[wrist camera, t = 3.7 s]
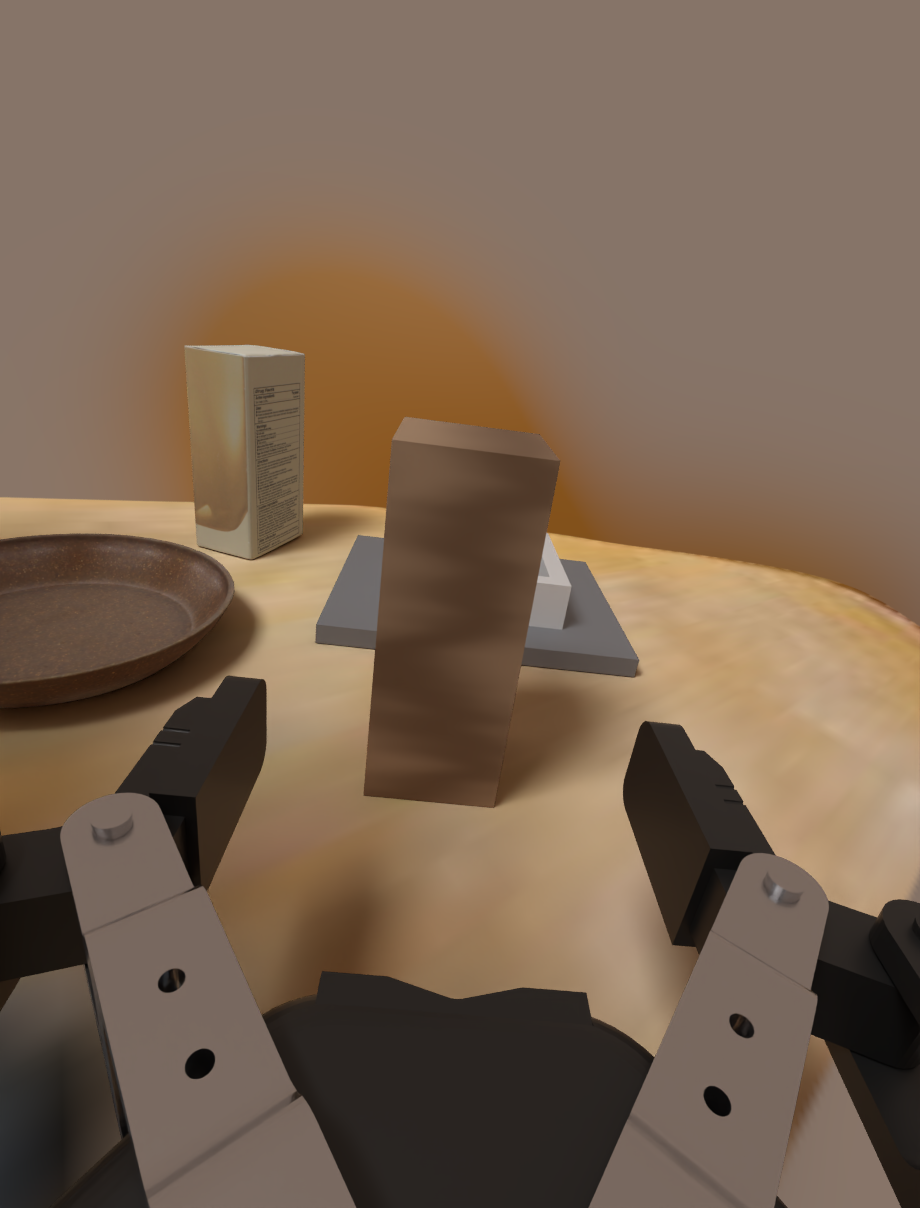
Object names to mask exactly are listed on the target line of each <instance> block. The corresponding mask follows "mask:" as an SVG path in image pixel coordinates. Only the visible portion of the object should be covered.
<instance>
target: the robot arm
mask: <svg viewBox="0 0 920 1208" xmlns="http://www.w3.org/2000/svg"><path fill="white" fill-rule="evenodd" d="M265 751H266V682H265V680H263V679H254V678H245V677H236V676H227V677H225V679H224V680H223V682H222V683H221V685H220V686H219V688H218V689H217V691H216V692H215V694H214V695H213V697H212V698H203V697H196V698H194V699H193V700H191V701H190V702H188V703H186V704H185V705H183V706H182V707H180V708H179V709H177V710H176V711H175V712H174V713H173V715H172V716H171V717H170V719H169V720H168V722H167V723H166V724H165V726H164V727H163V731H162V730H161V731H160V732H159V734H158V735H157V737H156V738H155V739H154V741H153V745H150V746H149V747H148V749H147V750H146V752H145V753H144V754H143V756H142V757H141V758H140V760H139V761H138V762H137V764H136V765H135V767H134V768H133V769H132V771H131V772H130V773H129V775H128V776H127V777H126V779H125V780H124V782H123V783H122V784H121V786H120V787H119V788H118V790H117V791H116V792H115V794H111V795H107V796H103V797H101V798H98V799H95V800H93V801H91V802H89V803H87V804H85V805H83V806H82V807H80V808H79V809H77V810H76V811H75V812H74V813H73V814H72V815H71V816H70V817H69V818H68V819H67V820H66V822H65V823H64V825H63V826H61V827H58V828H52V829H47V830H39V831H32V832H25V833H18V834H11V835H4V836H1V832H0V1011H1V1010H2V1008H3V1006H4V1005H5V1003H6V1001H7V1000H8V998H9V996H10V995H11V993H12V991H13V990H14V988H15V986H16V985H17V983H18V981H19V980H20V978H21V977H26V976H30V975H35V974H40V973H44V972H49V971H54V970H59V969H63V968H68V967H73V966H77V965H82V964H83V965H84V970H85V974H86V978H87V983H88V987H89V992H90V996H91V1001H92V1005H93V1010H94V1014H95V1019H96V1023H97V1027H98V1032H99V1036H100V1041H101V1045H102V1050H103V1054H104V1059H105V1063H106V1068H107V1073H108V1078H109V1082H110V1087H111V1092H112V1097H113V1102H114V1107H115V1112H116V1117H117V1121H118V1126H119V1130H120V1135H121V1139H122V1140H121V1141H120V1142H119V1143H118V1144H117V1145H116V1146H115V1147H113V1148H112V1149H111V1150H110V1151H109V1152H108V1153H107V1154H106V1155H105V1156H104V1157H103V1158H102V1159H101V1160H100V1161H98V1162H97V1163H96V1164H95V1165H94V1166H93V1167H92V1168H91V1169H90V1170H89V1171H88V1172H87V1173H86V1174H85V1175H83V1176H82V1177H81V1178H80V1179H79V1180H78V1181H77V1182H76V1183H75V1184H74V1185H73V1186H72V1187H71V1188H70V1189H68V1190H67V1191H66V1192H65V1193H64V1194H63V1195H62V1196H61V1197H60V1198H59V1199H58V1200H57V1201H56V1202H55V1203H53V1204H52V1205H51V1206H50V1207H49V1208H787V1207H786V1205H784V1203H783V1202H782V1201H781V1200H780V1199H779V1197H778V1196H777V1191H778V1187H779V1182H780V1177H781V1172H782V1168H783V1163H784V1158H785V1153H786V1149H787V1144H788V1139H789V1134H790V1130H791V1125H792V1120H793V1115H794V1111H795V1106H796V1101H797V1096H798V1092H799V1087H800V1082H801V1077H802V1073H803V1068H804V1063H805V1058H806V1054H807V1049H808V1044H809V1040H810V1035H814V1036H816V1037H819V1038H821V1039H824V1040H825V1042H826V1045H827V1047H828V1049H829V1051H830V1053H831V1056H832V1058H833V1060H834V1062H835V1064H836V1066H837V1069H838V1071H839V1073H840V1075H841V1077H842V1079H843V1082H844V1084H845V1086H846V1088H847V1090H848V1093H849V1095H850V1097H851V1099H852V1101H853V1103H854V1106H855V1108H856V1110H857V1112H858V1114H859V1116H860V1119H861V1121H862V1123H863V1125H864V1127H865V1129H866V1132H867V1134H868V1136H869V1138H870V1140H871V1143H872V1145H873V1147H874V1149H875V1151H876V1153H877V1156H878V1158H879V1160H880V1162H881V1164H882V1166H883V1168H884V1171H885V1173H886V1175H887V1177H888V1180H889V1182H890V1184H891V1186H892V1188H893V1190H894V1192H895V1195H896V1197H897V1199H898V1201H899V1203H900V1206H901V1208H920V903H917V902H914V901H909V900H900V899H899V900H892V901H889V902H888V903H886V904H885V906H884V907H883V909H882V911H881V912H880V914H879V916H878V918H877V917H874V916H871V915H868V914H865V913H862V912H859V911H856V910H853V909H851V908H848V907H845V906H842V905H839V904H836V903H833V902H831V901H828V899H827V896H826V894H825V892H824V891H823V889H822V887H821V886H820V885H819V884H818V882H817V881H816V880H815V879H814V878H813V877H812V876H811V875H810V874H808V873H807V872H806V871H805V870H803V869H802V868H800V867H799V866H797V865H796V864H794V863H792V862H790V861H788V860H786V859H784V858H781V857H778V856H776V855H775V854H774V852H773V850H772V849H771V847H770V845H769V844H768V842H767V840H766V839H765V837H764V835H763V834H762V832H761V830H760V829H759V827H758V825H757V824H756V822H755V820H754V819H753V817H752V815H751V814H750V812H749V810H748V809H747V807H746V805H743V800H742V799H741V797H740V795H739V794H738V792H737V790H734V785H733V784H732V782H731V780H730V779H729V777H728V775H727V774H726V772H725V770H724V769H723V767H722V766H720V765H719V764H718V763H717V762H716V761H715V760H714V759H713V758H711V757H710V756H709V755H708V754H707V753H706V752H705V751H700V750H695V748H694V746H693V745H692V743H691V741H690V739H689V737H688V736H687V734H686V732H685V730H684V729H683V727H682V726H681V725H676V724H667V723H657V722H648V721H645V722H643V723H642V725H641V726H640V729H639V732H638V735H637V738H636V742H635V745H634V748H633V752H632V755H631V758H630V762H629V765H628V768H627V772H626V775H625V779H624V785H623V800H624V806H625V810H626V813H627V815H628V818H629V821H630V824H631V827H632V830H633V833H634V836H635V839H636V841H637V844H638V847H639V850H640V853H641V856H642V859H643V862H644V864H645V867H646V870H647V873H648V876H649V879H650V882H651V885H652V888H653V890H654V893H655V896H656V899H657V902H658V905H659V908H660V911H661V914H662V916H663V919H664V922H665V925H666V928H667V931H668V934H669V937H670V940H671V942H672V945H679V946H690V947H696V948H697V951H698V954H699V958H698V960H697V962H696V965H695V967H694V969H693V971H692V974H691V976H690V978H689V981H688V983H687V985H686V987H685V990H684V992H683V994H682V997H681V999H680V1001H679V1003H678V1006H677V1008H676V1010H675V1013H674V1015H673V1017H672V1019H671V1022H670V1024H669V1026H668V1028H667V1031H666V1033H665V1035H664V1038H663V1040H662V1042H661V1044H660V1047H659V1049H658V1051H657V1054H656V1056H655V1058H654V1057H653V1056H652V1055H651V1054H650V1053H649V1052H648V1051H647V1050H646V1049H645V1048H644V1047H642V1046H641V1045H640V1044H638V1043H637V1042H636V1041H634V1040H633V1039H632V1038H630V1037H629V1036H628V1035H626V1034H624V1033H623V1032H621V1031H619V1030H618V1029H616V1028H615V1027H613V1026H611V1025H609V1024H607V1023H604V1022H602V1021H600V1020H598V1019H595V1018H593V1017H591V1014H590V1009H589V1004H588V999H587V994H586V993H583V992H571V991H559V990H547V989H534V988H517V989H512V990H507V991H502V992H496V993H491V994H486V995H481V996H475V997H470V998H465V999H452V998H448V997H445V996H442V995H439V994H436V993H434V992H431V991H428V990H425V989H422V988H419V987H416V986H414V985H411V984H408V983H405V982H402V981H399V980H396V979H393V978H391V977H387V976H374V975H362V974H350V973H338V972H325V971H322V973H321V978H320V983H319V988H318V992H317V994H316V995H310V996H305V997H302V998H299V999H296V1000H292V1001H289V1002H287V1003H284V1004H282V1005H280V1006H278V1007H276V1008H273V1009H271V1010H270V1011H268V1012H266V1013H264V1014H263V1015H261V1013H260V1011H259V1008H258V1006H257V1004H256V1001H255V999H254V997H253V995H252V992H251V990H250V988H249V986H248V983H247V981H246V979H245V977H244V974H243V972H242V970H241V968H240V965H239V963H238V961H237V959H236V956H235V954H234V952H233V950H232V947H231V945H230V943H229V940H228V938H227V936H226V934H225V931H224V929H223V927H222V925H221V922H220V920H219V918H218V916H217V913H216V911H215V909H214V907H213V904H212V902H211V900H210V898H209V895H208V893H207V890H208V888H209V886H210V884H211V881H212V879H213V877H214V875H215V872H216V870H217V868H218V866H219V863H220V861H221V859H222V857H223V854H224V852H225V850H226V847H227V845H228V843H229V841H230V838H231V836H232V834H233V832H234V829H235V827H236V825H237V823H238V820H239V818H240V816H241V814H242V811H243V809H244V807H245V805H246V802H247V800H248V798H249V796H250V793H251V791H252V789H253V787H254V784H255V782H256V780H257V778H258V775H259V773H260V771H261V768H262V765H263V761H264V756H265Z"/></svg>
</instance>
